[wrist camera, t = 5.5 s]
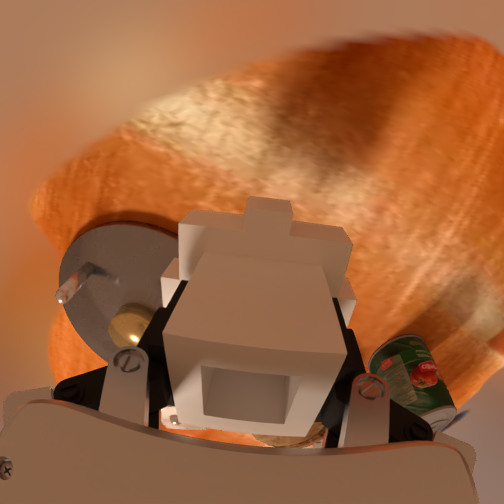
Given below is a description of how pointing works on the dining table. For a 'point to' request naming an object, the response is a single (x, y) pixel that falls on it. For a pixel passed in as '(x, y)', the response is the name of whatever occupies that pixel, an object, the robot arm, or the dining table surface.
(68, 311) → the carrier
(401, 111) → the dining table surface
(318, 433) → the bread roll
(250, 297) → the hollow square tube block
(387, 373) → the canned tomato
